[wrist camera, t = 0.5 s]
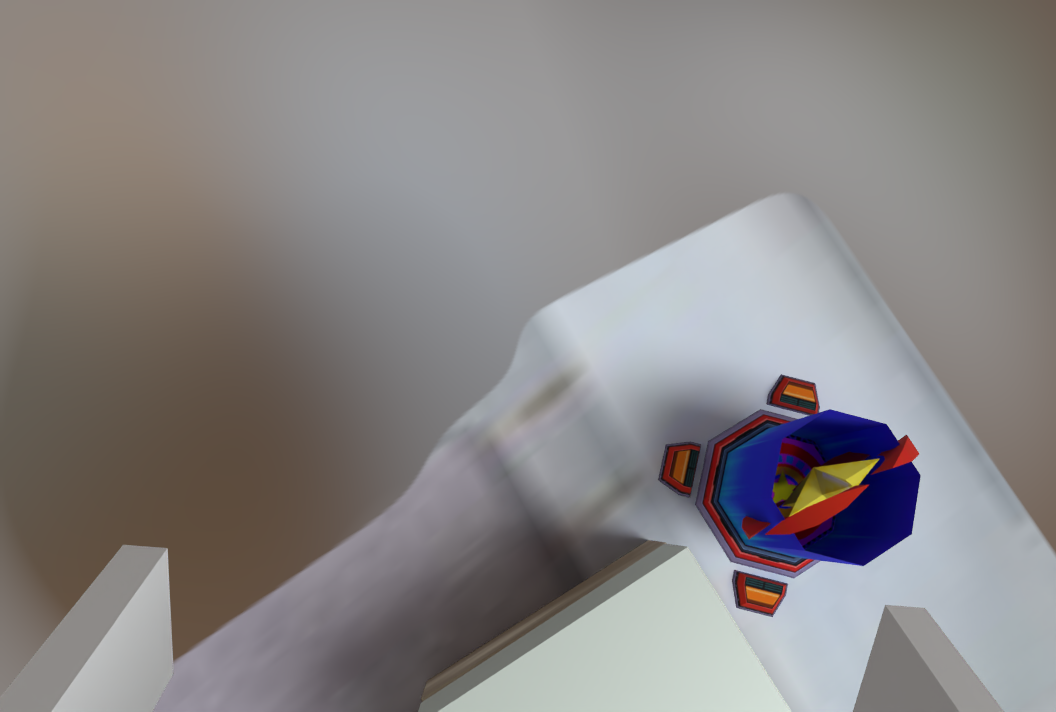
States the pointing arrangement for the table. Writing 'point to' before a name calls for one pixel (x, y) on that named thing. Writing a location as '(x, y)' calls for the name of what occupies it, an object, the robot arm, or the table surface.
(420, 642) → the table surface
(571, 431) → the table surface
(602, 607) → the top block
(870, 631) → the table surface
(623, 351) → the table surface
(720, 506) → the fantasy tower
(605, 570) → the base block
